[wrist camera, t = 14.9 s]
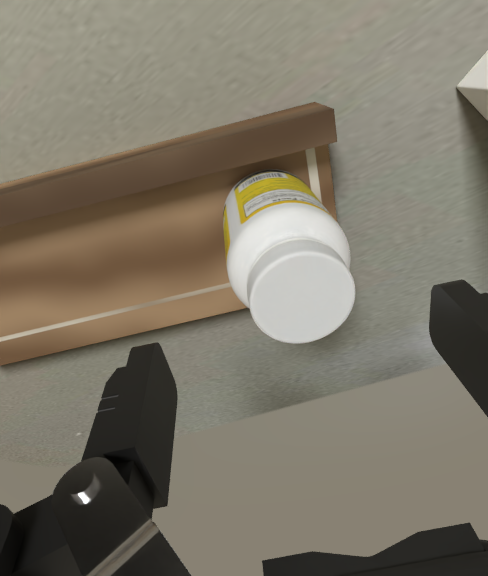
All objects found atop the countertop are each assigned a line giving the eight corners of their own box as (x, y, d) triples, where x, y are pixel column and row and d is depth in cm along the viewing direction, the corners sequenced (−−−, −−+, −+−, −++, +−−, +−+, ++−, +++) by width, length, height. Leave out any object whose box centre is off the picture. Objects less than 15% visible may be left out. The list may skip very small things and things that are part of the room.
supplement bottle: (279, 270, 25) (312, 378, 16) (205, 227, 23) (199, 322, 15) (334, 199, 23) (405, 280, 14) (257, 146, 21) (286, 202, 12)
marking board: (-114, 213, 23) (-171, 239, 20) (314, 102, 22) (333, 108, 18) (-13, 353, 29) (-43, 392, 25) (336, 270, 27) (353, 300, 24)
